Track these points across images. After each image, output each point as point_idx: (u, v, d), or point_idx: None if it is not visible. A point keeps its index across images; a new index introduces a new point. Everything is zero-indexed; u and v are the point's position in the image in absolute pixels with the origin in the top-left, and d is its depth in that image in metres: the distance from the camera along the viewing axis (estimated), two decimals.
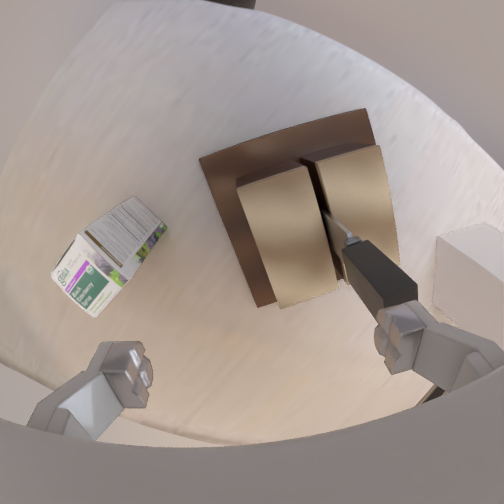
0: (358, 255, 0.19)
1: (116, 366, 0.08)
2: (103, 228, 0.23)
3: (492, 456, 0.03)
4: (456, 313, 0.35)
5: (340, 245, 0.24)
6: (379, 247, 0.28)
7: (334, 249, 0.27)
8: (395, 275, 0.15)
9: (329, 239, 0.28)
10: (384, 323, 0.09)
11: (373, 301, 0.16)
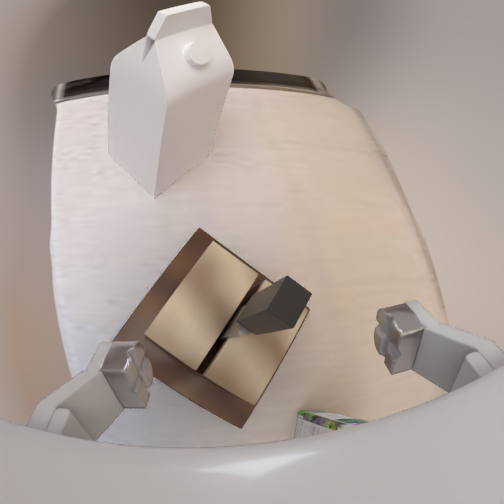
0: (257, 329, 0.23)
1: (116, 366, 0.08)
2: None
3: (492, 456, 0.03)
4: (207, 135, 0.40)
5: None
6: (214, 273, 0.32)
7: None
8: (265, 318, 0.20)
9: None
10: (384, 323, 0.09)
11: None
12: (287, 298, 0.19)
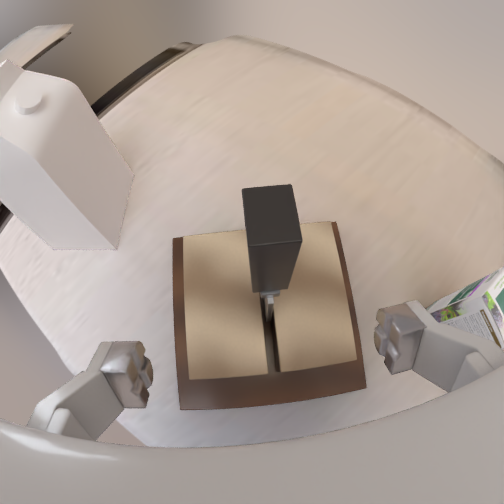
0: (279, 282, 0.16)
1: (116, 366, 0.08)
2: None
3: (492, 456, 0.03)
4: (112, 157, 0.33)
5: None
6: (208, 264, 0.26)
7: None
8: (263, 259, 0.13)
9: None
10: (384, 323, 0.09)
11: None
12: (263, 213, 0.12)
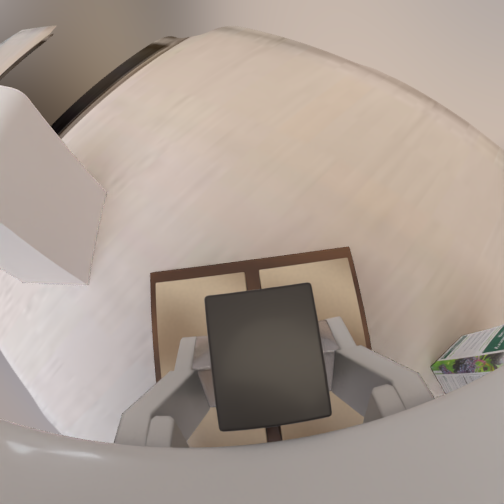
0: None
1: None
2: None
3: (492, 456, 0.03)
4: (76, 175, 0.26)
5: None
6: (188, 321, 0.19)
7: None
8: None
9: None
10: None
11: None
12: (251, 358, 0.05)
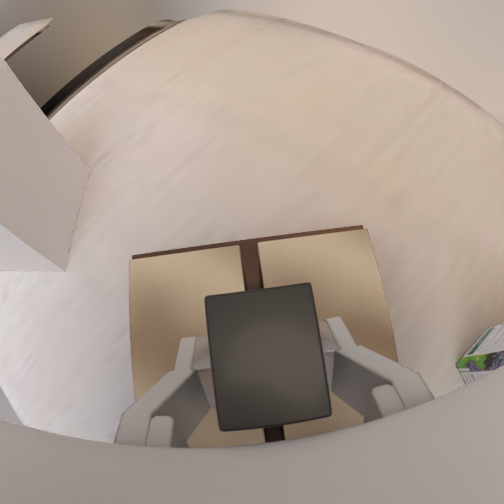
0: None
1: None
2: None
3: (492, 456, 0.03)
4: (54, 148, 0.22)
5: None
6: (167, 307, 0.15)
7: None
8: None
9: None
10: None
11: None
12: (251, 358, 0.05)
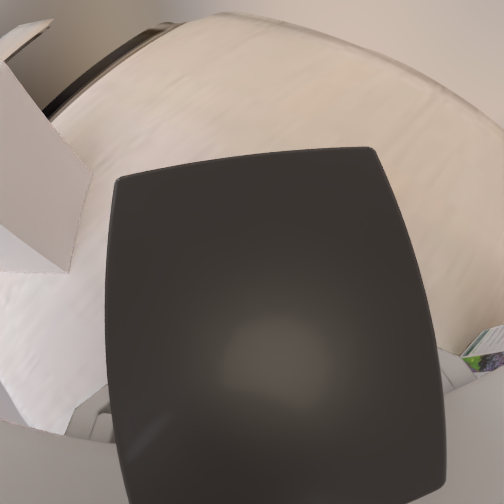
0: None
1: None
2: None
3: (492, 456, 0.03)
4: (57, 153, 0.23)
5: None
6: None
7: None
8: None
9: None
10: None
11: None
12: (221, 340, 0.02)
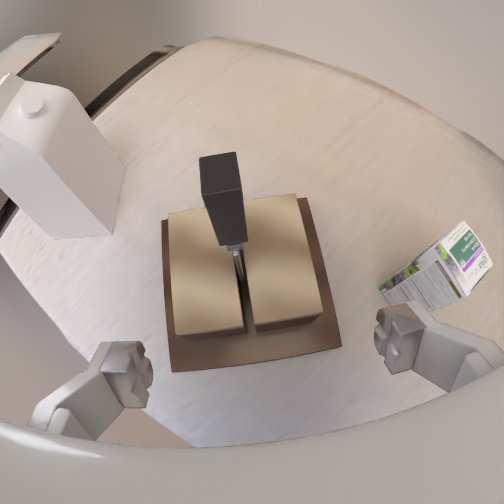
0: (237, 232, 0.20)
1: (116, 366, 0.08)
2: (443, 297, 0.23)
3: (492, 456, 0.03)
4: (105, 153, 0.37)
5: None
6: (189, 235, 0.30)
7: None
8: (217, 208, 0.17)
9: None
10: (384, 323, 0.09)
11: None
12: (213, 172, 0.16)
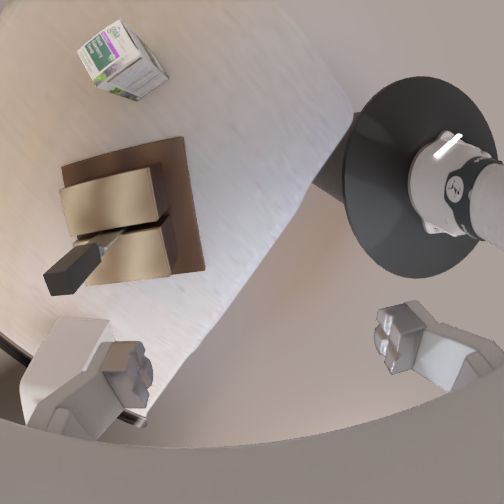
0: (91, 254, 0.26)
1: (116, 366, 0.08)
2: (141, 66, 0.24)
3: (492, 456, 0.03)
4: (52, 338, 0.42)
5: (99, 240, 0.31)
6: (98, 269, 0.36)
7: (97, 235, 0.34)
8: (78, 279, 0.23)
9: (105, 231, 0.35)
10: (384, 323, 0.09)
11: (63, 265, 0.23)
12: (58, 287, 0.22)
